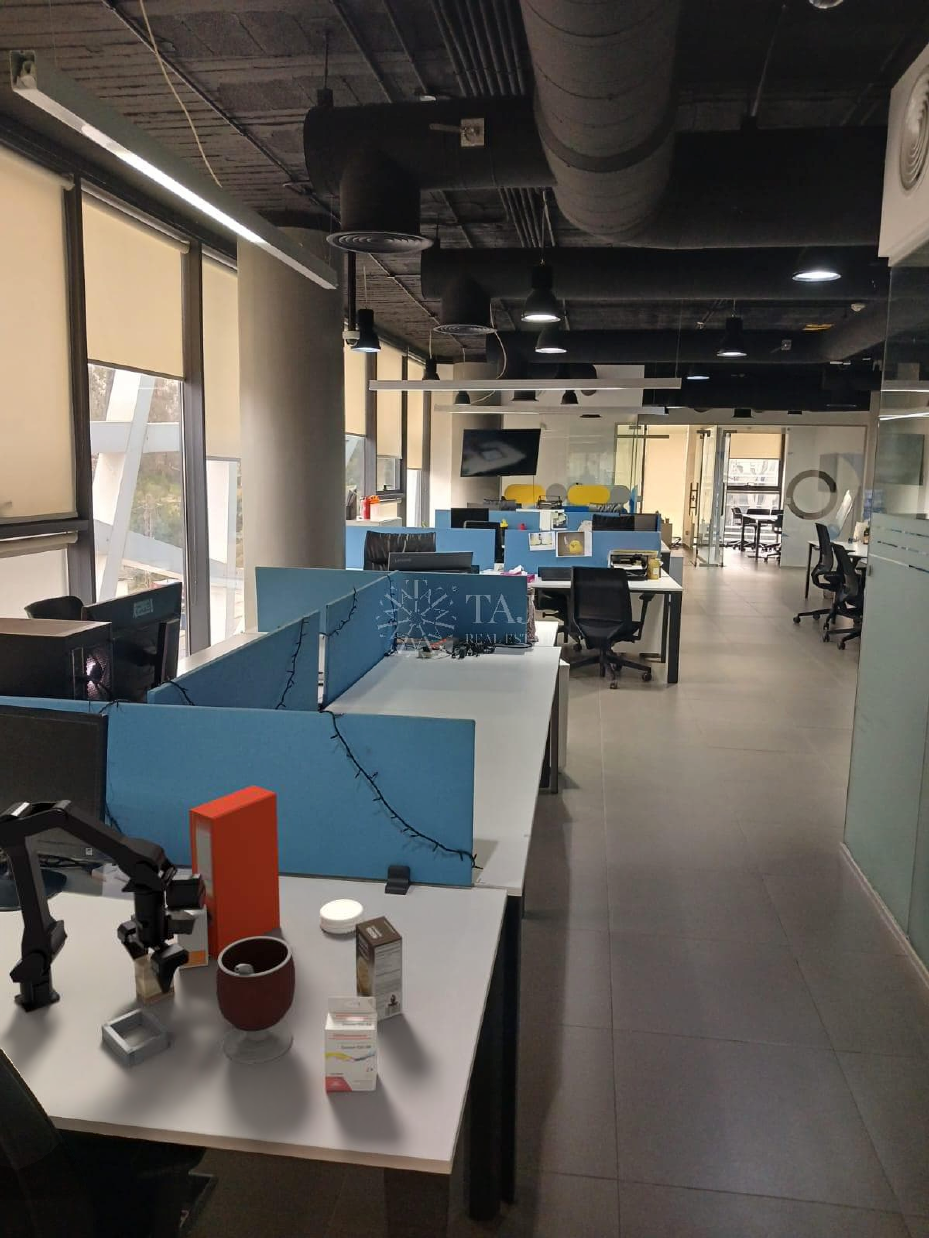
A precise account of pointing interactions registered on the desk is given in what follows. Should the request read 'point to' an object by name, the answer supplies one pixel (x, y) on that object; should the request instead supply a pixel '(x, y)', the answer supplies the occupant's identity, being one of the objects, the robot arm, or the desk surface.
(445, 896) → the desk surface
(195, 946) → the skincare box
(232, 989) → the mate gourd
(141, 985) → the block
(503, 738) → the desk surface
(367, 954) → the coffee box
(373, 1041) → the ink cartridge box
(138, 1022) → the collar
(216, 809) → the file binder
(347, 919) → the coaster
